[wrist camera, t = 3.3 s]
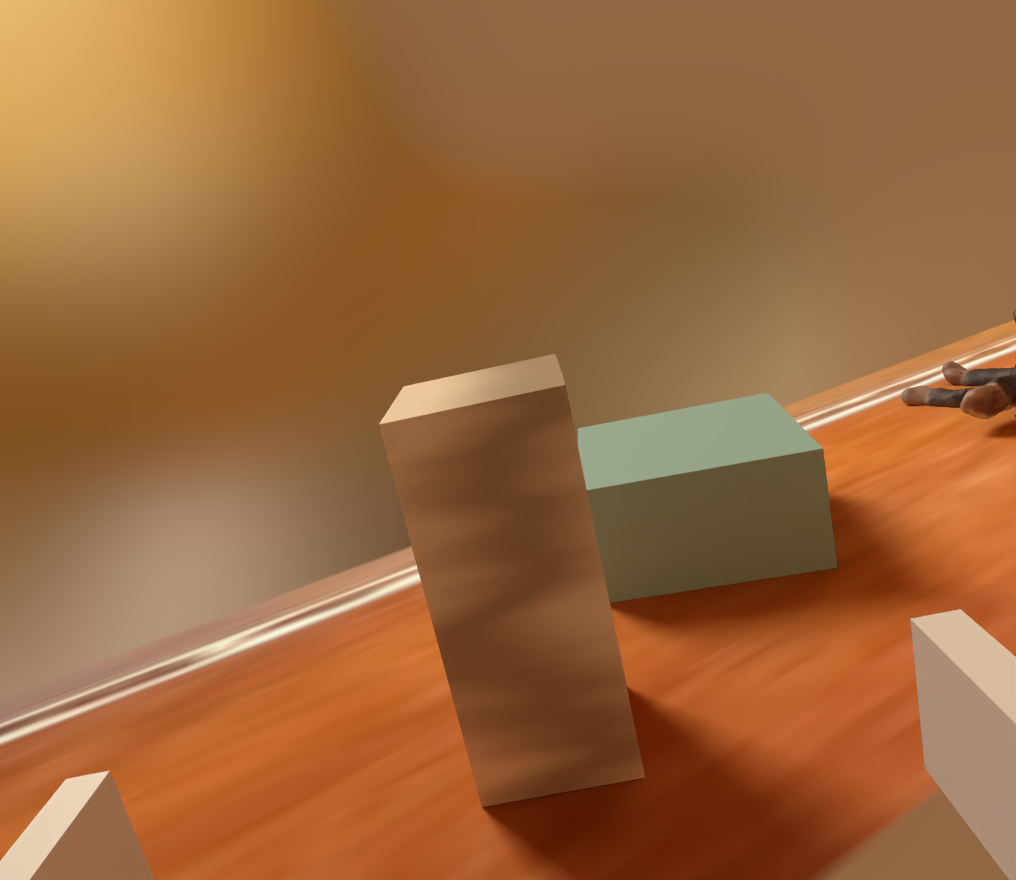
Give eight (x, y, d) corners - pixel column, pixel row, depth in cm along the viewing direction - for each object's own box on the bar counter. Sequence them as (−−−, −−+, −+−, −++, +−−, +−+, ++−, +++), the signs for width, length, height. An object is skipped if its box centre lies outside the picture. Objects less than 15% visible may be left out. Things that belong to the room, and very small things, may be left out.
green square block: (601, 609, 31) (577, 491, 30) (597, 523, 40) (578, 428, 39) (838, 573, 30) (822, 448, 29) (781, 491, 39) (767, 392, 37)
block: (482, 807, 22) (378, 424, 19) (486, 709, 26) (404, 386, 23) (645, 777, 21) (565, 384, 19) (622, 683, 26) (555, 353, 23)
